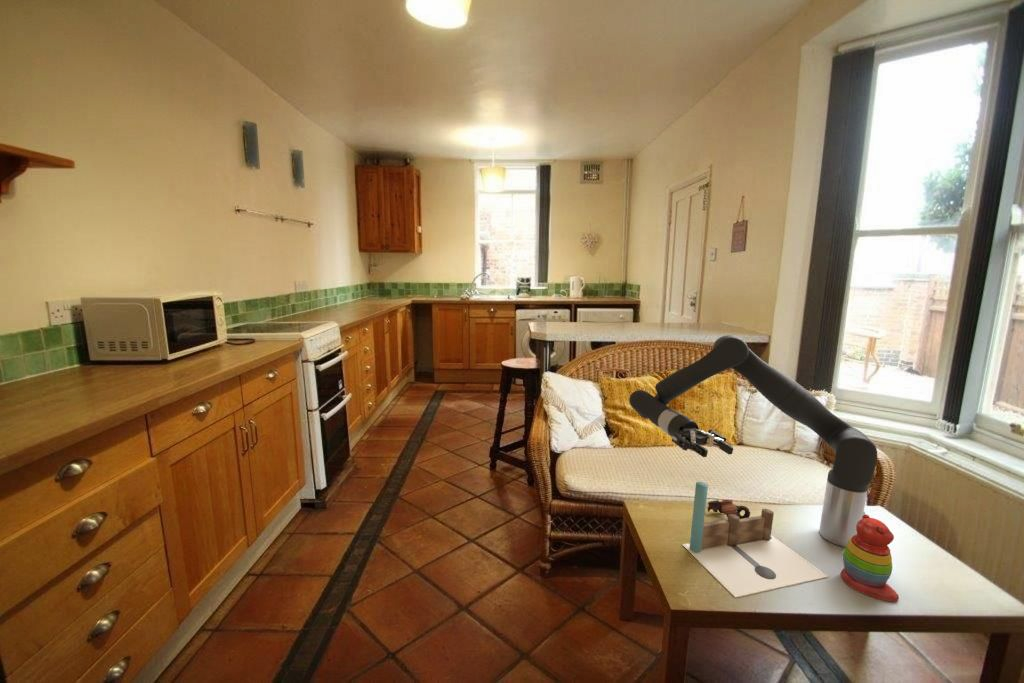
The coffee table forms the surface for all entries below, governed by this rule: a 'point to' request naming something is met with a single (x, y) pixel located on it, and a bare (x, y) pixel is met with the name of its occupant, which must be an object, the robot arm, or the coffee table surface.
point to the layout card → (756, 566)
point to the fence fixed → (750, 528)
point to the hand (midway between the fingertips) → (719, 452)
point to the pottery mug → (728, 508)
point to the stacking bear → (869, 560)
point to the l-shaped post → (706, 524)
